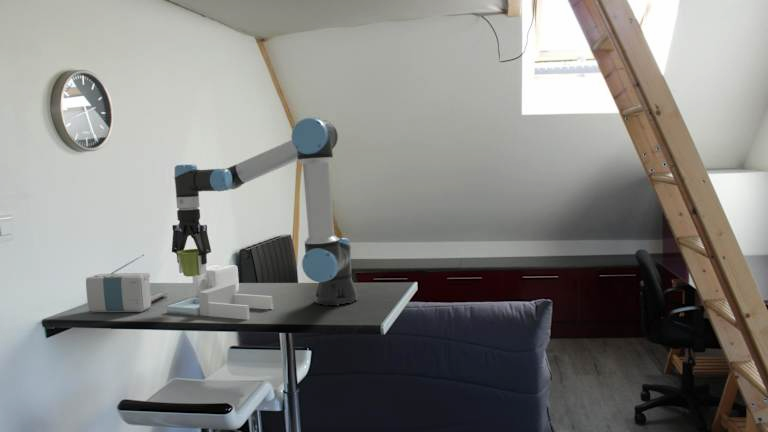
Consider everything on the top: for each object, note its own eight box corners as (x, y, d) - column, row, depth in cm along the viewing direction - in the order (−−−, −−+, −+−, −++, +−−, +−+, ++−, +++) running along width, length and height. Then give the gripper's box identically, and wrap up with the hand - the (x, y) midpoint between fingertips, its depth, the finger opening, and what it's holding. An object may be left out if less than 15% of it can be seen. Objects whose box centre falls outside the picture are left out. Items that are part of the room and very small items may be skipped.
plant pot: (202, 277, 202) (200, 252, 201) (174, 278, 202) (173, 253, 201) (210, 272, 211) (208, 248, 211) (183, 273, 211) (182, 249, 211)
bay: (273, 308, 204) (272, 286, 204) (247, 319, 191) (245, 295, 191) (227, 305, 213) (226, 283, 212) (200, 315, 200) (198, 292, 199)
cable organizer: (215, 302, 219) (213, 271, 218) (192, 300, 223) (190, 270, 222) (239, 293, 233) (238, 264, 232) (218, 291, 237) (216, 263, 236)
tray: (223, 306, 211) (222, 299, 211) (196, 315, 199) (196, 308, 199) (194, 304, 217) (194, 297, 217) (167, 313, 205) (166, 306, 205)
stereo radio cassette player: (87, 314, 209) (82, 258, 207) (101, 308, 217) (96, 254, 215) (142, 313, 206) (137, 257, 204) (154, 307, 214) (150, 253, 212)
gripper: (157, 209, 206) (162, 273, 208) (204, 209, 197) (208, 276, 199) (173, 207, 213) (177, 269, 215) (219, 207, 204) (223, 272, 206)
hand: (192, 272), depth 207 cm, fingers closed on plant pot, 8 cm apart
